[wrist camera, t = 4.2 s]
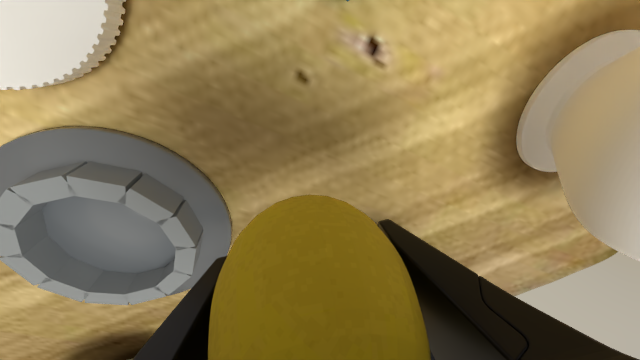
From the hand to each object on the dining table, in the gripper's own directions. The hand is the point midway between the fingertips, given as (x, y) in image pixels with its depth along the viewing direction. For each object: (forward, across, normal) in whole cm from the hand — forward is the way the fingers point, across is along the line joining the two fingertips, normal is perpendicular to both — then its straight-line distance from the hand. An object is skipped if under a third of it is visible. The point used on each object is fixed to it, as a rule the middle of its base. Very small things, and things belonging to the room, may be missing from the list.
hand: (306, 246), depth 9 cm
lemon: (+2, 0, 0) cm, 2 cm away
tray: (+12, +16, +5) cm, 21 cm away
